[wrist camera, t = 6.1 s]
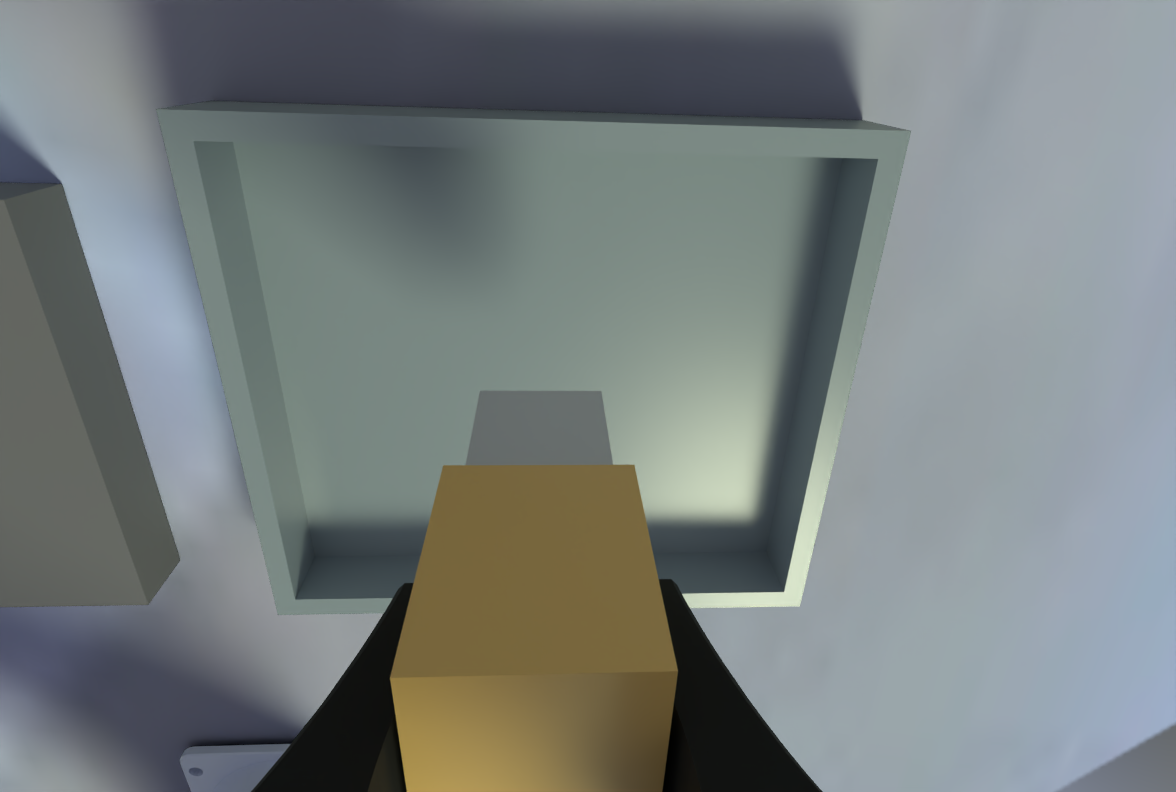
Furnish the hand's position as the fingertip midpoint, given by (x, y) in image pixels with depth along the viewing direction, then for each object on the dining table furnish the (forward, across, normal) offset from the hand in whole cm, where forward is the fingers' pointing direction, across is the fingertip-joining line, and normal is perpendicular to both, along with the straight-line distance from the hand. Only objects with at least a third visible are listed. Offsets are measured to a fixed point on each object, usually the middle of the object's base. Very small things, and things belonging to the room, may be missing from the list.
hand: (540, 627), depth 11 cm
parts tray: (+10, 0, 0) cm, 10 cm away
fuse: (+4, 0, 0) cm, 4 cm away
